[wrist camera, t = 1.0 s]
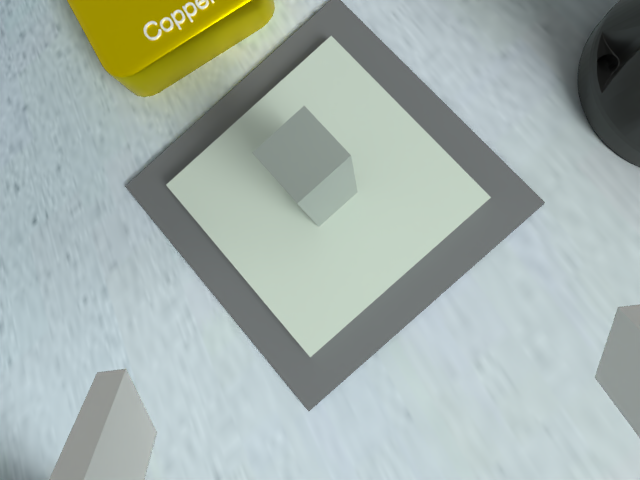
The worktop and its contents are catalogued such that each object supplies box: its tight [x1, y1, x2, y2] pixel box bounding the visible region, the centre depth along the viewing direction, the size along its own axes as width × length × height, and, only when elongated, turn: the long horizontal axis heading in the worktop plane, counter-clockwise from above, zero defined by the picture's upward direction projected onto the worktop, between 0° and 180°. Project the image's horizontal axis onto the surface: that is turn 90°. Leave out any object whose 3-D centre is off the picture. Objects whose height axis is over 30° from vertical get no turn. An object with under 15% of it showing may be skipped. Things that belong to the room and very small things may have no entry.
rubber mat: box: [125, 0, 545, 411], centre depth 36 cm, size 24×24×1 cm
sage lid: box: [166, 36, 491, 357], centre depth 31 cm, size 18×18×11 cm
